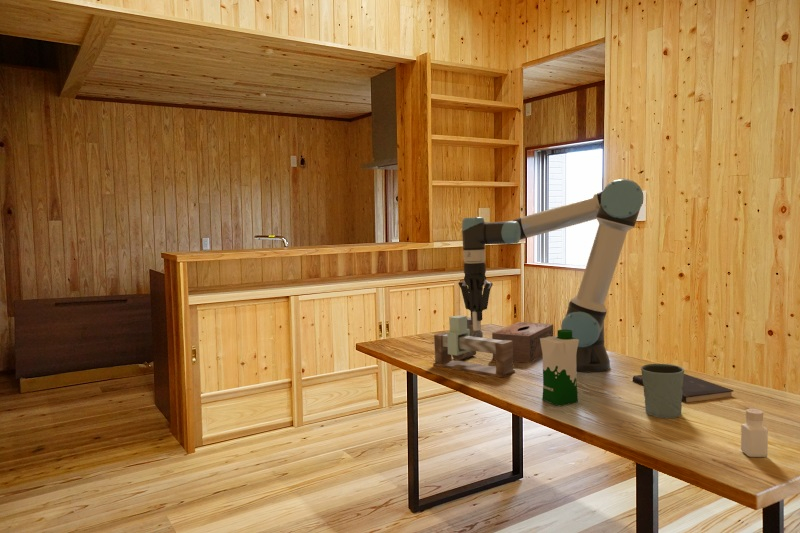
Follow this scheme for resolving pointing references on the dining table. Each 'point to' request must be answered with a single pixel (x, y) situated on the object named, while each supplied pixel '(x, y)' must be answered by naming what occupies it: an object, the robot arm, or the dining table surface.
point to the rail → (477, 368)
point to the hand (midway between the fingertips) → (477, 329)
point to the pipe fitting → (472, 332)
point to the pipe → (464, 355)
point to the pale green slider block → (456, 334)
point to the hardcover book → (697, 389)
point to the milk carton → (560, 368)
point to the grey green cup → (663, 389)
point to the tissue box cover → (525, 339)
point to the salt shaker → (754, 434)
